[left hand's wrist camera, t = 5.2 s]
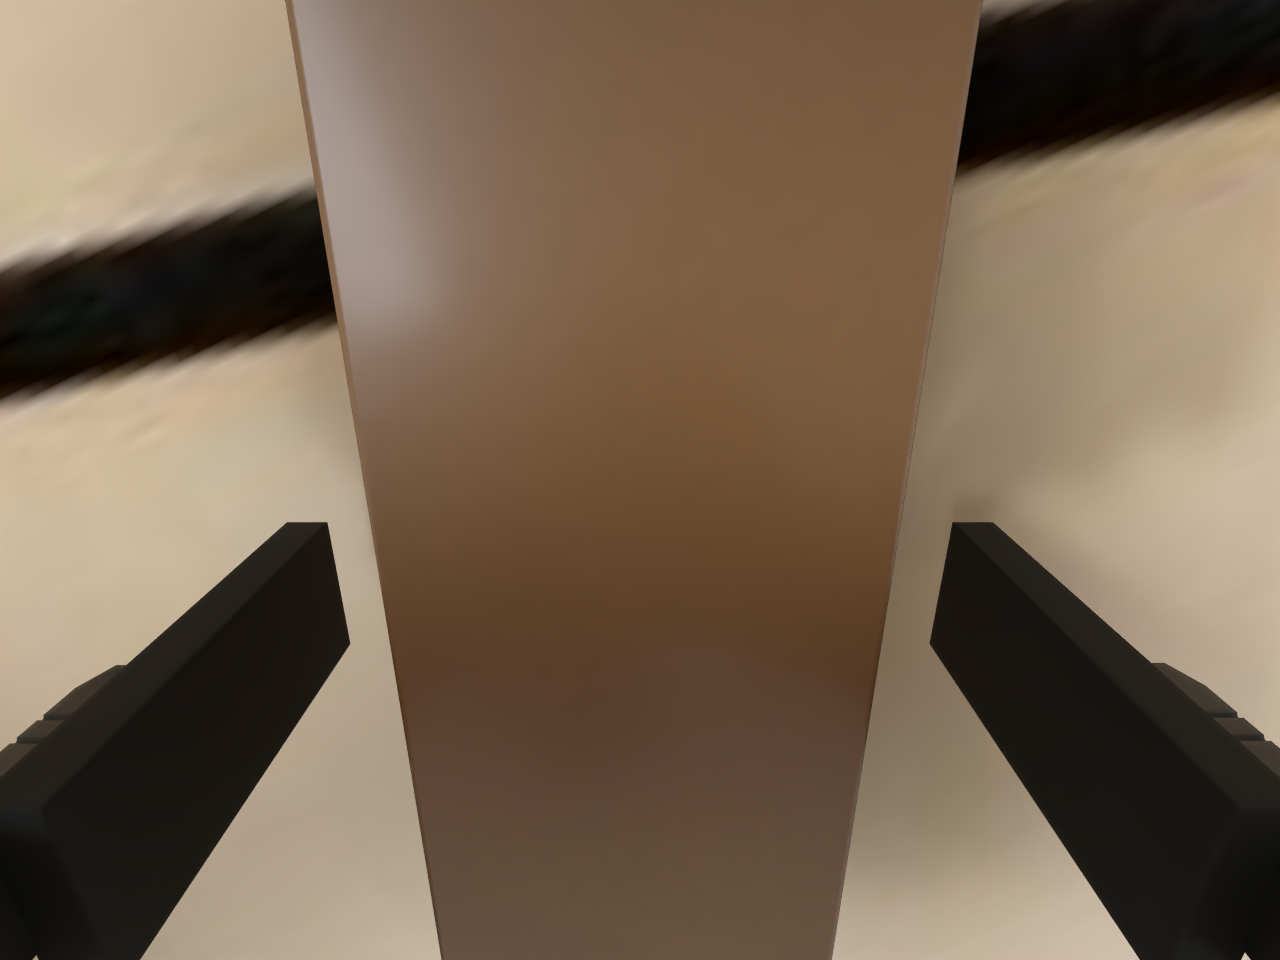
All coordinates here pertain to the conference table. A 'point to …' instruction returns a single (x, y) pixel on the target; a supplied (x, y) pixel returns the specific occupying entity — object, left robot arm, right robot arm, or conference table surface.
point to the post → (635, 434)
